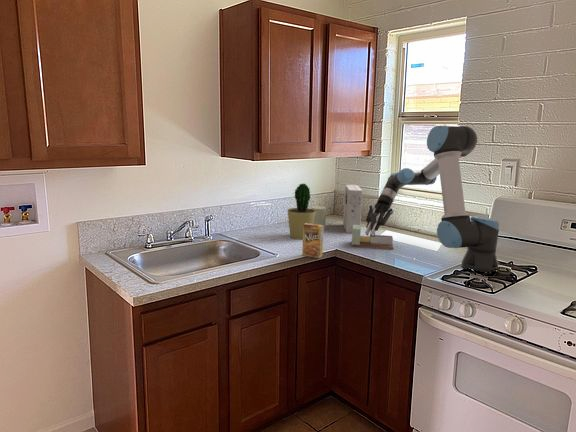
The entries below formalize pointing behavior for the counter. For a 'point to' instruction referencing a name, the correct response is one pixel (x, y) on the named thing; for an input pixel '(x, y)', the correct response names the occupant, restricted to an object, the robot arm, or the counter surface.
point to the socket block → (356, 234)
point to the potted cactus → (300, 212)
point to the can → (319, 215)
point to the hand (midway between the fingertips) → (369, 234)
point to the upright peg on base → (373, 221)
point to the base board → (373, 245)
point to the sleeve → (381, 240)
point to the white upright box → (352, 207)
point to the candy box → (312, 240)
